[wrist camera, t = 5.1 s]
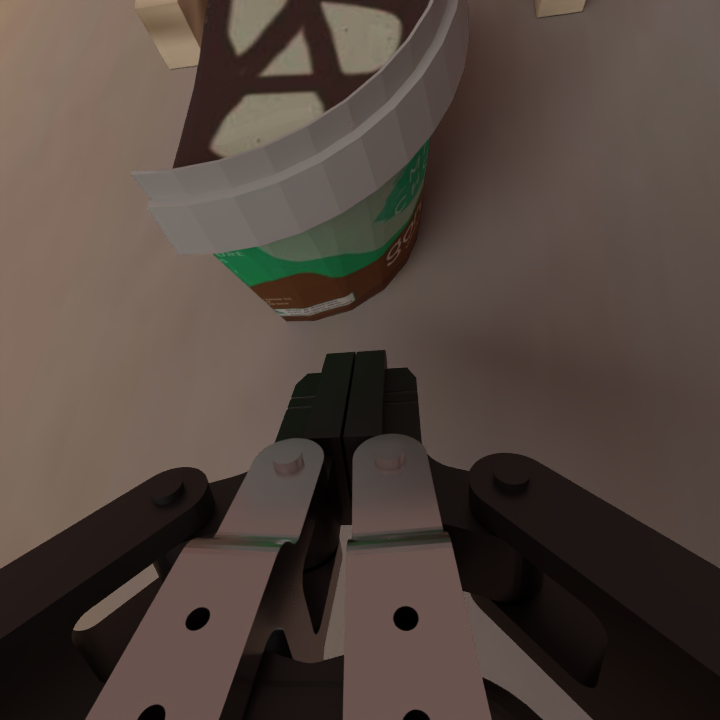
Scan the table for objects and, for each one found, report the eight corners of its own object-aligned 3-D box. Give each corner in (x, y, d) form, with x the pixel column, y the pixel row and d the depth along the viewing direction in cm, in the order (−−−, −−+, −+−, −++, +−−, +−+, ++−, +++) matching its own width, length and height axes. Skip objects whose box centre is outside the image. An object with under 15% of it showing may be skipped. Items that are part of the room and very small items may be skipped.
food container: (438, 369, 17) (465, 207, 7) (280, 356, 18) (122, 199, 8) (456, 103, 20) (491, -244, 11) (322, 104, 21) (244, -215, 12)
